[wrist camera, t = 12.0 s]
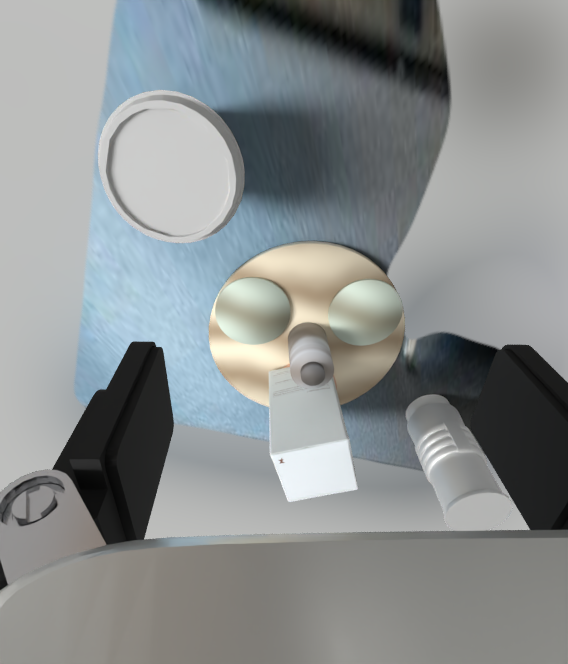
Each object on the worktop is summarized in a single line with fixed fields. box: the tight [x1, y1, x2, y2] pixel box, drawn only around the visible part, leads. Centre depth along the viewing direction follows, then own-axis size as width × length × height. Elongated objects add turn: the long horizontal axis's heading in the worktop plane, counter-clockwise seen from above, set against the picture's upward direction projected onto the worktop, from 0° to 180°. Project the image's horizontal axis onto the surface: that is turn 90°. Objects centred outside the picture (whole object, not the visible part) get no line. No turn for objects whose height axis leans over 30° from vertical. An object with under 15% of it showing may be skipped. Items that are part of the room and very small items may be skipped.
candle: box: [406, 394, 513, 531], centre depth 47 cm, size 7×7×15 cm
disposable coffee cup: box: [98, 90, 245, 243], centre depth 31 cm, size 10×10×12 cm
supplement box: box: [269, 367, 358, 502], centre depth 43 cm, size 7×7×13 cm
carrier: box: [209, 241, 405, 407], centre depth 43 cm, size 22×22×8 cm
